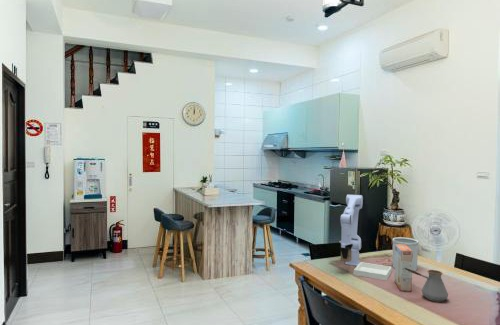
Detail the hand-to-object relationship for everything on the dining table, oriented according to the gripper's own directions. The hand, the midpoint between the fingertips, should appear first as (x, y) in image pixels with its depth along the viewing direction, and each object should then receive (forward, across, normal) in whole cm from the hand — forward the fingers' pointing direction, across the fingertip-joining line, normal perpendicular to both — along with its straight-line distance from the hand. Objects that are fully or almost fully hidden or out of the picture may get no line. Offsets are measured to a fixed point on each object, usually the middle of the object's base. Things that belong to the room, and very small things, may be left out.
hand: (346, 257), depth 207 cm
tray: (+9, -7, +14) cm, 18 cm away
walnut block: (+2, 0, 0) cm, 2 cm away
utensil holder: (+9, -28, +29) cm, 41 cm away
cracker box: (+9, +7, +32) cm, 34 cm away
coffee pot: (+9, +19, +43) cm, 48 cm away
